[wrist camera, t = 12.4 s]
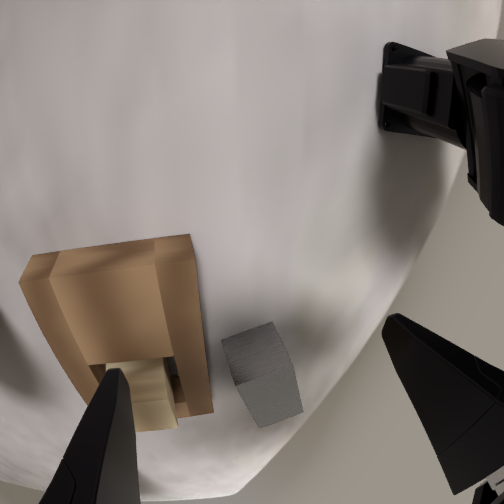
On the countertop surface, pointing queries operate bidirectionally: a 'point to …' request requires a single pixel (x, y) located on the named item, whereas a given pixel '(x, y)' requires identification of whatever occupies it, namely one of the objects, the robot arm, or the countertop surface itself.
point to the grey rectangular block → (263, 374)
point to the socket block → (123, 312)
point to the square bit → (150, 393)
